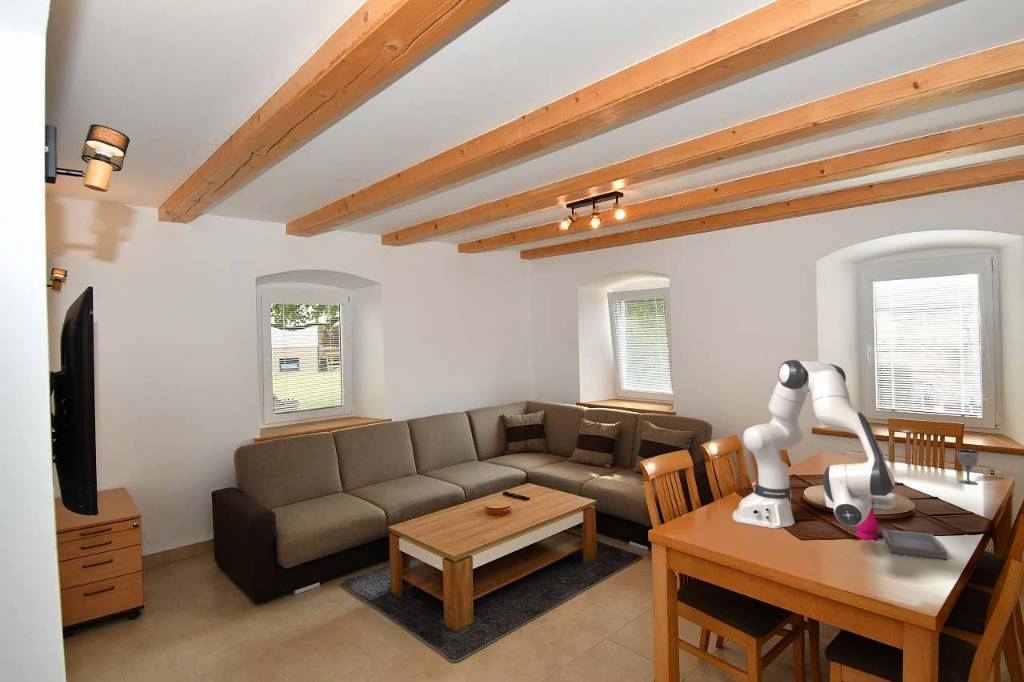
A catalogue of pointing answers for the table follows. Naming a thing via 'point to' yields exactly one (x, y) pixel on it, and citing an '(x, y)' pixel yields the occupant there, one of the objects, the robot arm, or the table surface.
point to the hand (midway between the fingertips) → (861, 490)
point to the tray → (914, 544)
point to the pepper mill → (868, 527)
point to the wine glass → (968, 462)
